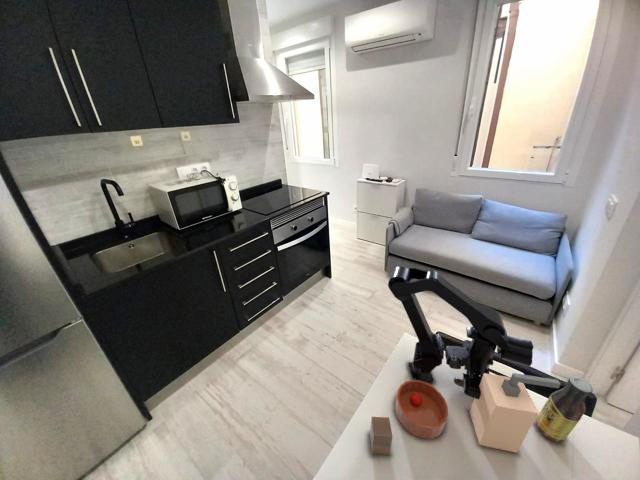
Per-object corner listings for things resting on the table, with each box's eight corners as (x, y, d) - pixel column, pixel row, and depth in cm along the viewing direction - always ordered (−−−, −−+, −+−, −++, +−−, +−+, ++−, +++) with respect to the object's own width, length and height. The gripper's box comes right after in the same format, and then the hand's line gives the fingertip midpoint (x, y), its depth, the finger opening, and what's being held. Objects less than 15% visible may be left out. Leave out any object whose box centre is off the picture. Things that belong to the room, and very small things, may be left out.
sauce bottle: (533, 413, 72) (559, 365, 64) (561, 425, 69) (594, 376, 61) (536, 436, 67) (565, 386, 59) (567, 450, 64) (603, 400, 56)
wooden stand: (369, 434, 69) (371, 416, 65) (386, 435, 68) (389, 417, 65) (371, 453, 65) (373, 435, 61) (389, 455, 64) (392, 436, 61)
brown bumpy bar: (480, 384, 79) (484, 388, 77) (478, 390, 79) (481, 395, 77) (454, 374, 80) (456, 378, 78) (451, 381, 80) (454, 385, 78)
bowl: (391, 389, 80) (393, 379, 77) (435, 391, 79) (438, 380, 77) (400, 437, 68) (403, 426, 66) (452, 440, 67) (456, 429, 65)
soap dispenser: (479, 445, 66) (503, 389, 56) (469, 411, 73) (489, 357, 64) (536, 456, 63) (571, 400, 54) (519, 420, 71) (548, 365, 61)
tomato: (421, 406, 75) (421, 408, 72) (410, 402, 76) (409, 403, 73) (423, 394, 76) (422, 395, 73) (411, 390, 77) (410, 391, 75)
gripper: (449, 320, 83) (441, 354, 90) (449, 366, 68) (439, 403, 74) (490, 330, 79) (477, 365, 85) (499, 382, 63) (483, 420, 70)
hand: (468, 386), depth 79 cm, fingers closed on brown bumpy bar, 2 cm apart
